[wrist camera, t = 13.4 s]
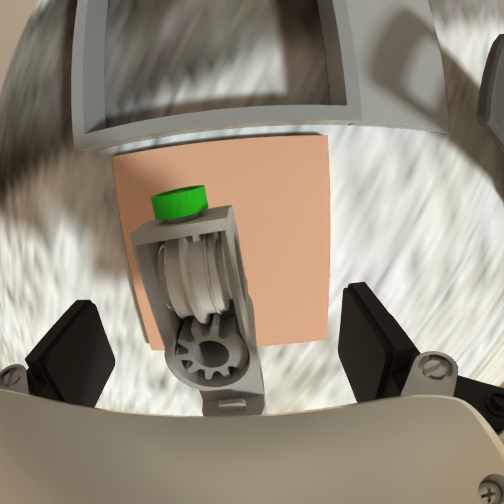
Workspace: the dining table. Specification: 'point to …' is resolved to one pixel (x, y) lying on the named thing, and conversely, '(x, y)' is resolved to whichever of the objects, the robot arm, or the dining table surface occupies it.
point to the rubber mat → (248, 222)
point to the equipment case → (337, 113)
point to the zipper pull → (493, 93)
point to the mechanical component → (202, 300)
